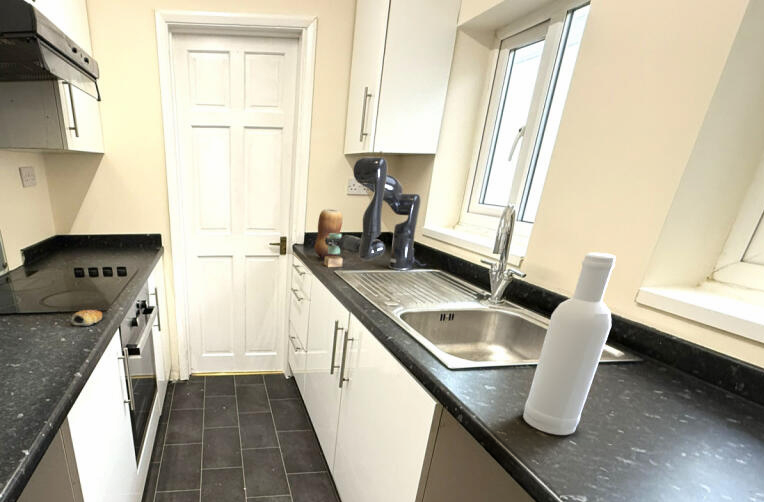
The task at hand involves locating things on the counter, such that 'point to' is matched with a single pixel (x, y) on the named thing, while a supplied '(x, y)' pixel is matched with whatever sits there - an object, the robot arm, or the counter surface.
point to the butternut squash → (327, 230)
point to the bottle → (571, 351)
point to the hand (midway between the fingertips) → (332, 239)
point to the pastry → (86, 317)
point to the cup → (334, 248)
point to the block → (333, 261)
